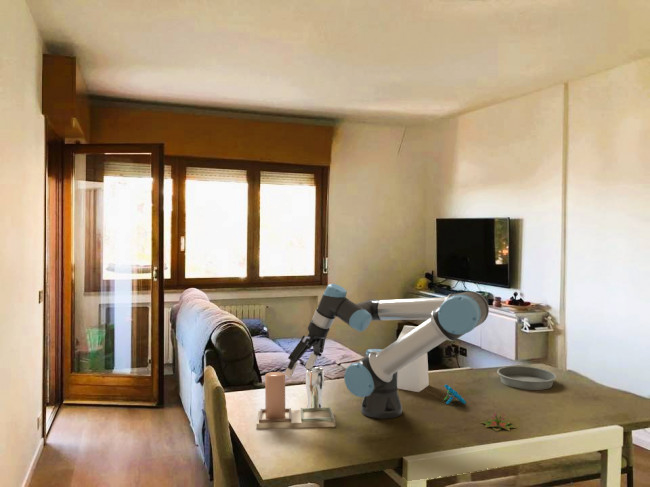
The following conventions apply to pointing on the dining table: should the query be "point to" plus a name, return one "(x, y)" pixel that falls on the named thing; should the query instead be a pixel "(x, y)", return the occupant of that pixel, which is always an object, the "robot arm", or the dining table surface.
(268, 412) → the tan tall block
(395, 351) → the robot arm
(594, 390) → the dining table surface
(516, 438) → the dining table surface
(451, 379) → the dining table surface
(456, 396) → the toy gun
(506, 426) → the lily flower
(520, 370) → the cake pan
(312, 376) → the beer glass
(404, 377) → the milk
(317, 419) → the board
